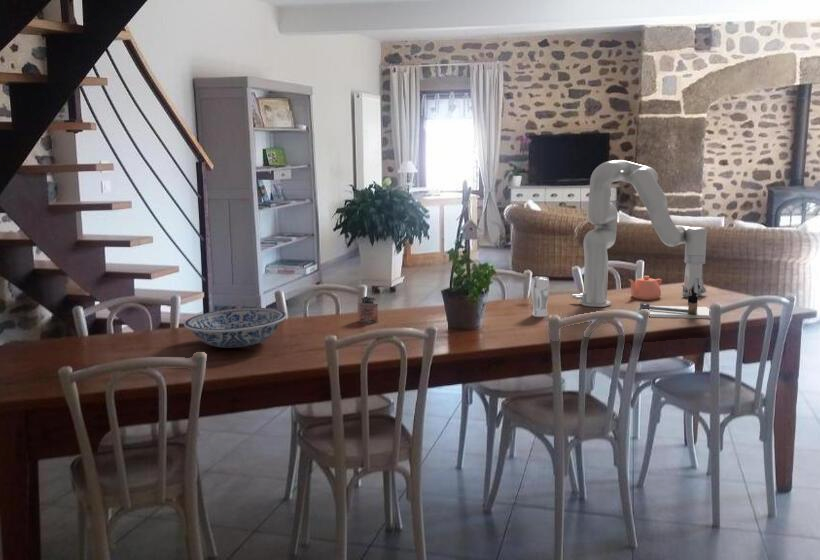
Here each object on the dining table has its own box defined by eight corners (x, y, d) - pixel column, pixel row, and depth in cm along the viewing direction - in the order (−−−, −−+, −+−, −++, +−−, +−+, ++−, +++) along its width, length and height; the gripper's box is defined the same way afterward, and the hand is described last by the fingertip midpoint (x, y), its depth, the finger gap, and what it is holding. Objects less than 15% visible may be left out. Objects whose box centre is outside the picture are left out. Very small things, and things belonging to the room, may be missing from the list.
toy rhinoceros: (678, 301, 330) (673, 284, 327) (696, 289, 335) (691, 272, 332) (691, 304, 324) (686, 287, 321) (709, 291, 328) (705, 274, 326)
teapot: (670, 298, 326) (671, 276, 324) (637, 302, 318) (638, 280, 317) (650, 293, 336) (651, 272, 335) (618, 297, 329) (619, 275, 327)
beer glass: (547, 313, 300) (548, 276, 297) (549, 317, 293) (550, 279, 290) (530, 313, 300) (530, 276, 298) (531, 317, 294) (531, 279, 291)
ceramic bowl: (224, 329, 281) (223, 303, 280) (305, 336, 269) (304, 309, 267) (163, 353, 250) (161, 324, 248) (252, 363, 238) (250, 332, 236)
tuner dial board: (645, 317, 290) (645, 314, 290) (639, 308, 306) (639, 305, 306) (716, 319, 286) (716, 316, 286) (706, 309, 302) (706, 306, 302)
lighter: (357, 321, 291) (356, 296, 289) (362, 319, 294) (361, 294, 292) (375, 323, 287) (375, 297, 285) (380, 321, 290) (379, 296, 288)
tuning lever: (638, 309, 298) (639, 299, 297) (640, 307, 301) (641, 297, 300) (696, 314, 288) (696, 304, 287) (697, 312, 291) (698, 302, 290)
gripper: (681, 256, 298) (678, 301, 301) (688, 262, 284) (685, 309, 287) (701, 256, 297) (698, 302, 300) (709, 262, 282) (706, 310, 286)
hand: (692, 305), depth 293 cm, fingers closed
